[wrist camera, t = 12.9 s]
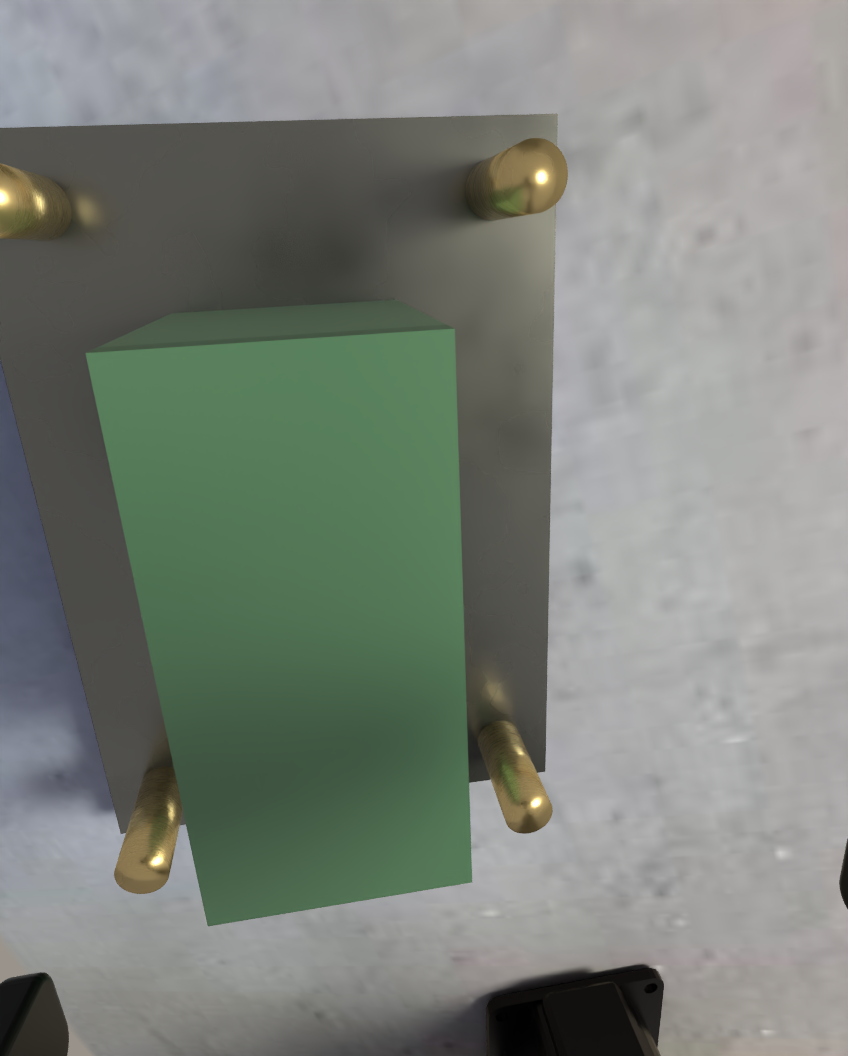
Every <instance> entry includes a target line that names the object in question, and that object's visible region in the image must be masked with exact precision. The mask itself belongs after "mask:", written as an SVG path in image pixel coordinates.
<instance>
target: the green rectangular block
mask: <svg viewBox="0 0 848 1056" xmlns="http://www.w3.org/2000/svg"><path fill="white" fill-rule="evenodd" d="M85 354H86V358H87V363H88V368H89V372H90V377H91V382H92V386H93V391H94V396H95V400H96V405H97V410H98V414H99V419H100V424H101V429H102V433H103V438H104V443H105V447H106V452H107V457H108V461H109V466H110V471H111V475H112V480H113V485H114V489H115V494H116V499H117V503H118V508H119V513H120V517H121V522H122V527H123V532H124V536H125V541H126V546H127V550H128V555H129V560H130V564H131V569H132V574H133V578H134V583H135V588H136V592H137V597H138V602H139V606H140V611H141V616H142V620H143V625H144V630H145V634H146V639H147V644H148V649H149V653H150V658H151V663H152V667H153V672H154V677H155V681H156V686H157V691H158V695H159V700H160V705H161V709H162V714H163V719H164V723H165V728H166V733H167V737H168V742H169V747H170V752H171V756H172V761H173V766H174V770H175V775H176V780H177V784H178V789H179V794H180V798H181V803H182V808H183V812H184V817H185V822H186V826H187V831H188V836H189V840H190V845H191V850H192V855H193V859H194V864H195V869H196V873H197V878H198V883H199V887H200V892H201V897H202V901H203V906H204V911H205V915H206V920H207V925H208V926H213V925H219V924H225V923H231V922H237V921H243V920H249V919H255V918H261V917H267V916H273V915H279V914H285V913H291V912H297V911H303V910H309V909H315V908H321V907H327V906H333V905H339V904H345V903H351V902H357V901H363V900H369V899H375V898H381V897H387V896H393V895H399V894H405V893H411V892H416V891H422V890H428V889H434V888H440V887H446V886H452V885H458V884H464V883H470V882H472V864H471V832H470V800H469V768H468V737H467V705H466V673H465V641H464V609H463V577H462V545H461V513H460V482H459V450H458V418H457V386H456V354H455V329H454V328H452V327H450V326H448V325H446V324H444V323H442V322H440V321H438V320H436V319H434V318H432V317H430V316H428V315H426V314H424V313H422V312H420V311H418V310H416V309H414V308H412V307H410V306H408V305H406V304H404V303H402V302H400V301H398V300H382V301H365V302H349V303H332V304H316V305H299V306H283V307H266V308H250V309H233V310H217V311H200V312H184V313H171V314H169V315H167V316H165V317H162V318H160V319H158V320H156V321H154V322H152V323H149V324H147V325H145V326H143V327H141V328H139V329H136V330H134V331H132V332H130V333H128V334H126V335H124V336H121V337H119V338H117V339H115V340H113V341H111V342H108V343H106V344H104V345H102V346H100V347H98V348H95V349H93V350H91V351H89V352H87V353H85Z"/></svg>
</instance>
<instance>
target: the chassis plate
mask: <svg viewBox="0 0 848 1056" xmlns="http://www.w3.org/2000/svg"><path fill="white" fill-rule="evenodd" d="M557 118H558V114H534V115H495V116H456V117H417V118H377V119H338V120H299V121H259V122H220V123H181V124H142V125H102V126H63V127H24V128H0V360H1V363H2V367H3V371H4V375H5V379H6V383H7V387H8V391H9V395H10V399H11V403H12V407H13V411H14V415H15V419H16V423H17V426H18V430H19V434H20V438H21V442H22V446H23V450H24V454H25V458H26V462H27V466H28V470H29V474H30V478H31V482H32V486H33V490H34V493H35V497H36V501H37V505H38V509H39V513H40V517H41V521H42V525H43V529H44V533H45V537H46V541H47V545H48V549H49V553H50V557H51V560H52V564H53V568H54V572H55V576H56V580H57V584H58V588H59V592H60V596H61V600H62V604H63V608H64V612H65V616H66V620H67V623H68V627H69V631H70V635H71V639H72V643H73V647H74V651H75V655H76V659H77V663H78V667H79V671H80V675H81V679H82V683H83V687H84V690H85V694H86V698H87V702H88V706H89V710H90V714H91V718H92V722H93V726H94V730H95V734H96V738H97V742H98V746H99V750H100V754H101V757H102V761H103V765H104V769H105V773H106V777H107V781H108V785H109V789H110V793H111V797H112V801H113V805H114V809H115V813H116V817H117V820H118V824H119V828H120V832H121V834H123V833H126V835H125V838H124V842H123V845H122V848H121V852H120V855H119V858H118V862H117V865H116V868H115V872H114V876H115V880H116V882H117V884H118V885H119V886H120V887H121V888H123V889H124V890H126V891H128V892H131V893H136V894H146V893H151V892H154V891H156V890H158V889H160V888H161V887H162V886H163V885H164V884H165V883H166V882H167V880H168V878H169V873H170V869H171V864H172V859H173V855H174V850H175V845H176V841H177V836H178V831H179V827H180V825H184V824H186V822H185V817H184V812H183V808H182V803H181V798H180V794H179V789H178V784H177V780H176V775H175V770H174V766H173V761H172V756H171V752H170V747H169V742H168V737H167V733H166V728H165V723H164V719H163V714H162V709H161V705H160V700H159V695H158V691H157V686H156V681H155V677H154V672H153V667H152V663H151V658H150V653H149V649H148V644H147V639H146V634H145V630H144V625H143V620H142V616H141V611H140V606H139V602H138V597H137V592H136V588H135V583H134V578H133V574H132V569H131V564H130V560H129V555H128V550H127V546H126V541H125V536H124V532H123V527H122V522H121V517H120V513H119V508H118V503H117V499H116V494H115V489H114V485H113V480H112V475H111V471H110V466H109V461H108V457H107V452H106V447H105V443H104V438H103V433H102V429H101V424H100V419H99V414H98V410H97V405H96V400H95V396H94V391H93V386H92V382H91V377H90V372H89V368H88V363H87V358H86V354H85V353H87V352H89V351H91V350H93V349H95V348H98V347H100V346H102V345H104V344H106V343H108V342H111V341H113V340H115V339H117V338H119V337H121V336H124V335H126V334H128V333H130V332H132V331H134V330H136V329H139V328H141V327H143V326H145V325H147V324H149V323H152V322H154V321H156V320H158V319H160V318H162V317H165V316H167V315H169V314H171V313H184V312H200V311H217V310H233V309H250V308H266V307H283V306H299V305H316V304H332V303H349V302H365V301H382V300H398V301H400V302H402V303H404V304H406V305H408V306H410V307H412V308H414V309H416V310H418V311H420V312H422V313H424V314H426V315H428V316H430V317H432V318H434V319H436V320H438V321H440V322H442V323H444V324H446V325H448V326H450V327H452V328H454V329H455V354H456V386H457V418H458V450H459V482H460V513H461V545H462V577H463V609H464V641H465V673H466V705H467V737H468V768H469V783H470V782H477V781H484V780H490V779H491V782H492V784H493V787H494V790H495V793H496V796H497V798H498V801H499V804H500V807H501V810H502V812H503V815H504V818H505V821H506V823H507V825H508V827H509V828H510V829H511V830H513V831H515V832H517V833H532V832H535V831H537V830H539V829H541V828H542V827H544V826H545V825H546V824H547V823H548V821H549V820H550V818H551V816H552V805H551V803H550V800H549V798H548V796H547V794H546V792H545V789H544V787H543V785H542V783H541V781H540V778H539V776H538V774H537V773H538V772H545V755H546V701H547V648H548V595H549V542H550V489H551V436H552V383H553V330H554V277H555V224H556V203H557V202H558V201H559V199H560V198H561V196H562V195H563V193H564V190H565V188H566V184H567V177H568V170H567V164H566V161H565V158H564V156H563V154H562V152H561V151H560V150H559V148H558V147H557Z"/></svg>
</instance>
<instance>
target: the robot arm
mask: <svg viewBox="0 0 848 1056" xmlns="http://www.w3.org/2000/svg"><path fill="white" fill-rule="evenodd" d="M839 884H840V891H841V895H842V898H843V901H844V903H845V905H846V907H847V909H848V839H847V844H846V849H845V854H844V859H843V864H842V870H841V875H840V881H839ZM663 990H664V983H663V981H662V979H661V977H660V975H659V973H658V971H657V970H656V969H653V968H646V969H641V970H636V971H630V972H625V973H620V974H614V975H609V976H604V977H598V978H593V979H587V980H582V981H577V982H571V983H566V984H561V985H555V986H550V987H545V988H539V989H534V990H529V991H523V992H518V993H513V994H507V995H502V996H498V997H495V998H493V999H492V1000H490V1001H489V1002H488V1004H487V1006H486V1030H487V1056H661V1055H660V1053H659V1051H658V1049H657V1046H658V1037H659V1027H660V1018H661V1009H662V999H663ZM68 1043H69V1032H68V1025H67V1021H66V1018H65V1015H64V1012H63V1010H62V1007H61V1004H60V1001H59V998H58V995H57V992H56V989H55V986H54V983H53V981H52V979H51V977H50V976H49V975H48V974H47V973H42V972H40V973H34V974H28V975H23V976H17V977H12V978H9V979H7V980H5V981H4V982H2V983H1V984H0V1056H67V1053H68Z"/></svg>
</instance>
